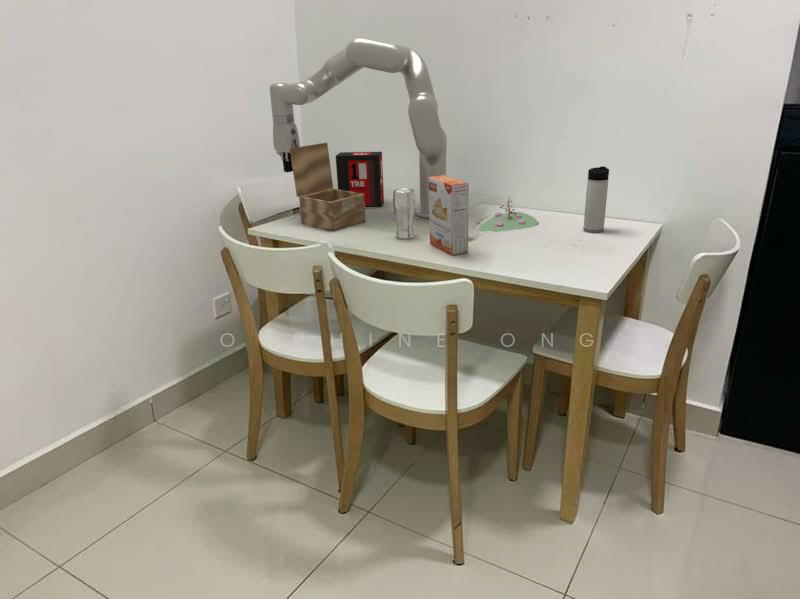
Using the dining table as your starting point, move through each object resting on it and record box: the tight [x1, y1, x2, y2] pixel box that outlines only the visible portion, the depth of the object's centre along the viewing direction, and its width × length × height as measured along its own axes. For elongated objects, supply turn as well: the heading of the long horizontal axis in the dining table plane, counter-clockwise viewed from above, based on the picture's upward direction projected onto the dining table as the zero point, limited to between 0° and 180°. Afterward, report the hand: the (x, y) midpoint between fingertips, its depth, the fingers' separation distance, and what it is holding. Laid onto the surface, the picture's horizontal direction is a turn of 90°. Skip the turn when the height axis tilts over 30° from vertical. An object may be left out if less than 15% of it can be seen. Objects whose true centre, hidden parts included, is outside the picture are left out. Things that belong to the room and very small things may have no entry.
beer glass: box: [392, 188, 416, 240], centre depth 194 cm, size 7×7×15 cm
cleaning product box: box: [335, 151, 385, 208], centre depth 236 cm, size 16×9×20 cm, turn 84°
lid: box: [290, 142, 334, 198], centre depth 214 cm, size 16×16×1 cm
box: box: [298, 188, 367, 233], centre depth 213 cm, size 16×16×10 cm
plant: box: [478, 196, 539, 233], centre depth 206 cm, size 25×21×9 cm
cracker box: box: [428, 174, 469, 256], centre depth 179 cm, size 14×6×21 cm, turn 25°
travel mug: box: [583, 165, 610, 234], centre depth 192 cm, size 6×7×20 cm
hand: (288, 171), depth 224 cm, fingers closed
